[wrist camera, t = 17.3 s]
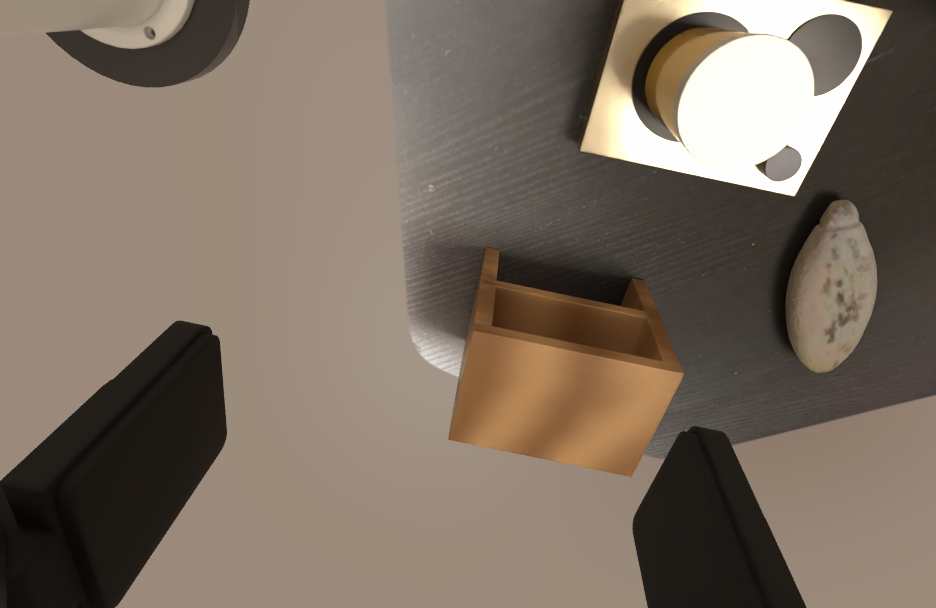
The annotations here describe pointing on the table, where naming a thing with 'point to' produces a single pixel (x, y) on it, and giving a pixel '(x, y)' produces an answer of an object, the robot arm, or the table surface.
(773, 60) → the jar
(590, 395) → the shelf
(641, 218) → the table surface
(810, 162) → the hob
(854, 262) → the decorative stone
